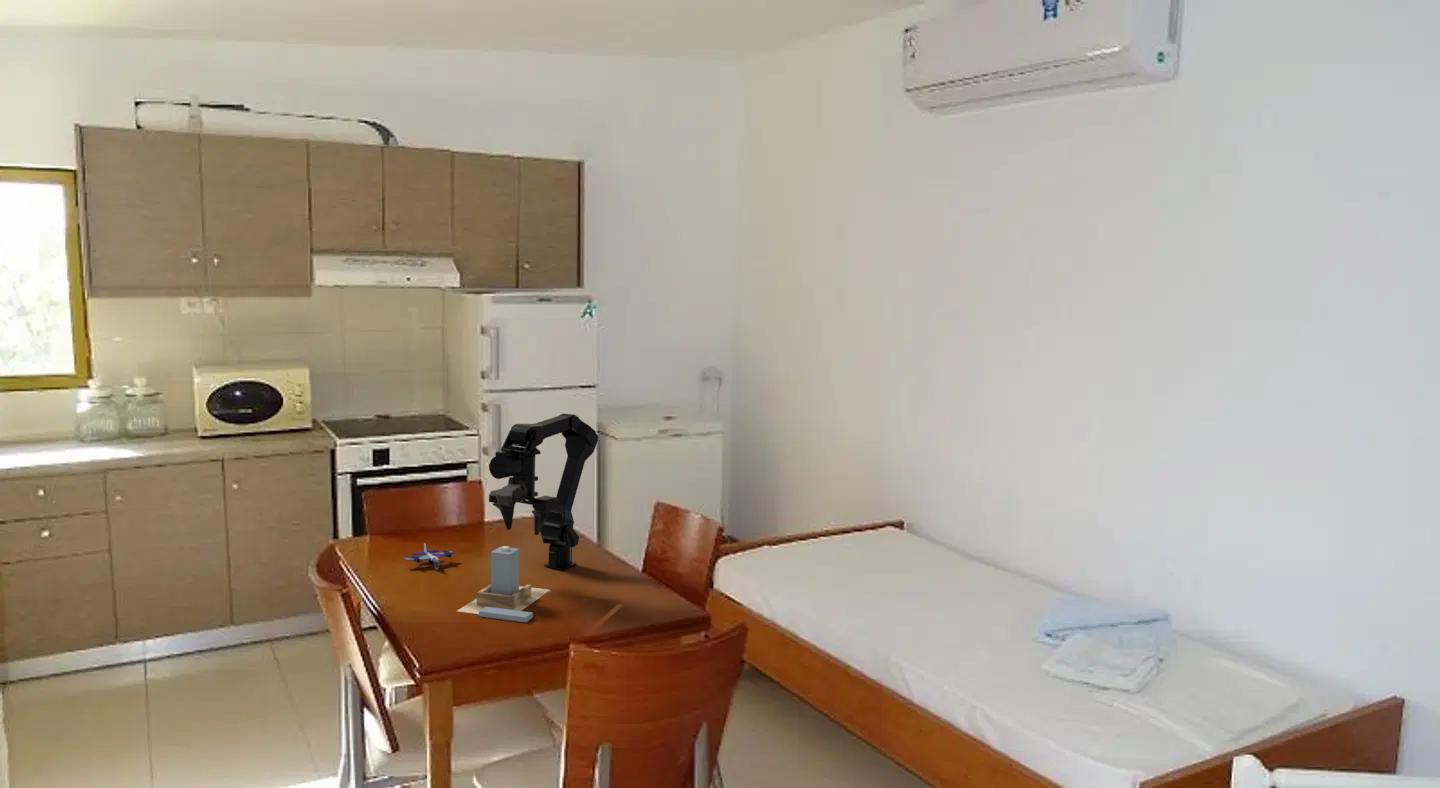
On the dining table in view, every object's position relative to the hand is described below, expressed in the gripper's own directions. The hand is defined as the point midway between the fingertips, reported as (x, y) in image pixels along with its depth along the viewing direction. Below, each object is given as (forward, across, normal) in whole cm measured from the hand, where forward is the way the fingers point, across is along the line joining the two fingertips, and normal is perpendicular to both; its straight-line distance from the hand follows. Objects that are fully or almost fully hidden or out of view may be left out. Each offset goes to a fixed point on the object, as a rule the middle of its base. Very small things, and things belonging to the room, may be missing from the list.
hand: (522, 532), depth 268 cm
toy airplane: (+13, -28, -3) cm, 31 cm away
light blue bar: (+13, +16, -25) cm, 32 cm away
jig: (+13, +8, -16) cm, 22 cm away
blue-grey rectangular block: (+13, +8, -16) cm, 22 cm away
